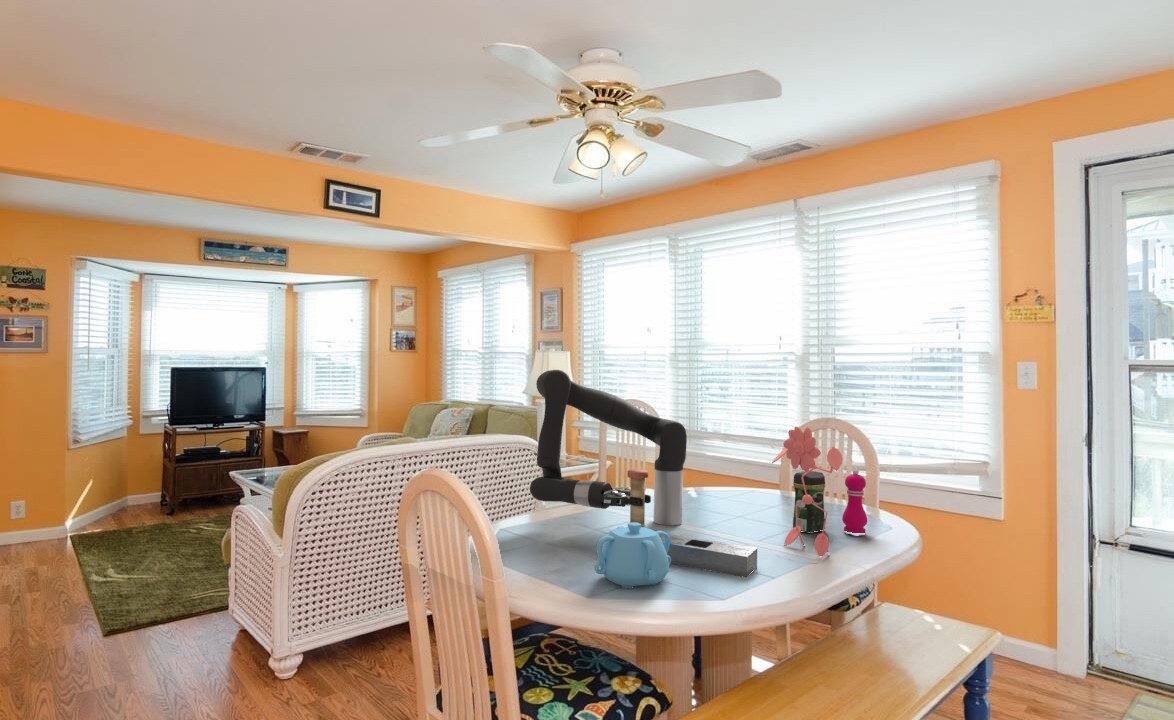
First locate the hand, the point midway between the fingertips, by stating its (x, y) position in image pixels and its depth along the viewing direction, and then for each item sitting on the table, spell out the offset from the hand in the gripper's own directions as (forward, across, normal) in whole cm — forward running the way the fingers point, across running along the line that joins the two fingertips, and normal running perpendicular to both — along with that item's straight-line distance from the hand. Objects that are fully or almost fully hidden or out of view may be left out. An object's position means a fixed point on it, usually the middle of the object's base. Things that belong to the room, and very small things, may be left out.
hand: (646, 500), depth 183 cm
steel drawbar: (+17, -4, +13) cm, 22 cm away
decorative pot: (+9, -26, +13) cm, 31 cm away
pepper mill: (+47, +52, +15) cm, 71 cm away
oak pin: (-3, 0, +10) cm, 10 cm away
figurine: (+37, +20, +14) cm, 44 cm away
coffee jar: (+34, +48, +14) cm, 60 cm away
